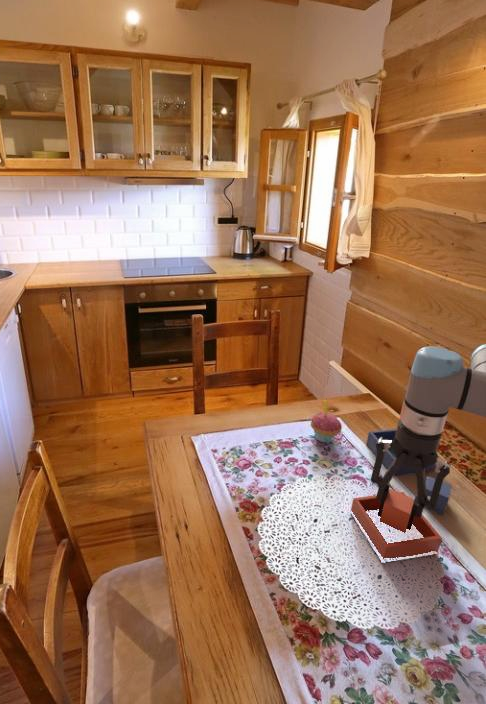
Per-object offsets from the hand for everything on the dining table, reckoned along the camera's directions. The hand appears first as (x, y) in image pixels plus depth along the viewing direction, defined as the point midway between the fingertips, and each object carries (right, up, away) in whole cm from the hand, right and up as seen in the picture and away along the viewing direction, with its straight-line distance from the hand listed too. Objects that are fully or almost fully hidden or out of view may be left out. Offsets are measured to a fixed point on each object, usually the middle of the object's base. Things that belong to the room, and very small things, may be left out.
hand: (395, 518), depth 85 cm
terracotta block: (0, 0, 0) cm, 0 cm away
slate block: (+13, -1, +10) cm, 17 cm away
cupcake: (-7, +8, +32) cm, 33 cm away
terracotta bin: (0, -4, +1) cm, 4 cm away
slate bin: (+12, +4, +25) cm, 28 cm away
